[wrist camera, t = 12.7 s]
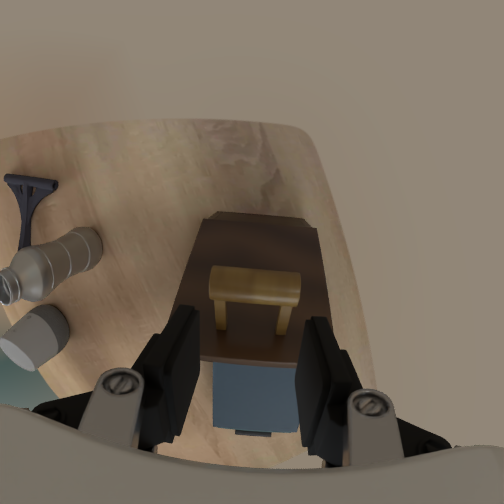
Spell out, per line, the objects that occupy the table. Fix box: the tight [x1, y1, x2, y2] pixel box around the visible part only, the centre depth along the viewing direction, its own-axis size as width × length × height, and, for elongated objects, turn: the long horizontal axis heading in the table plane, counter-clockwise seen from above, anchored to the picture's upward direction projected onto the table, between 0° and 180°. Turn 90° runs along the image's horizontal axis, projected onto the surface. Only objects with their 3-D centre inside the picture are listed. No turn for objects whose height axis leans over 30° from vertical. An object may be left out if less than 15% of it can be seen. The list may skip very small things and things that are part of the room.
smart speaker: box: [0, 305, 69, 371], centre depth 38 cm, size 10×9×14 cm
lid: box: [168, 219, 334, 369], centre depth 22 cm, size 15×12×6 cm
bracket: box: [4, 174, 58, 251], centre depth 39 cm, size 14×15×3 cm
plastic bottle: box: [0, 227, 102, 306], centre depth 31 cm, size 6×7×20 cm
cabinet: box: [213, 362, 299, 432], centre depth 40 cm, size 14×13×9 cm
